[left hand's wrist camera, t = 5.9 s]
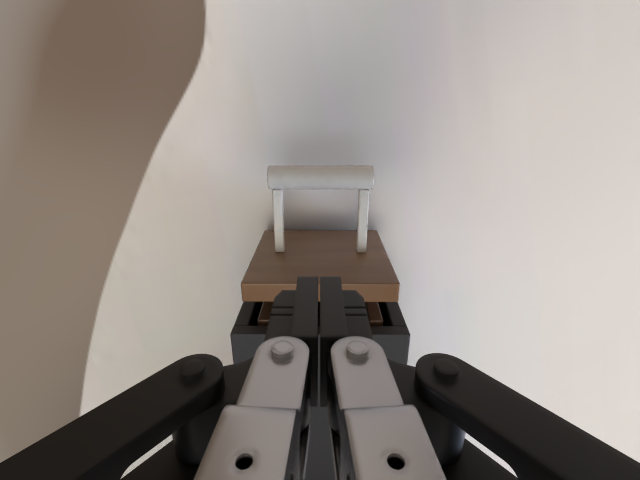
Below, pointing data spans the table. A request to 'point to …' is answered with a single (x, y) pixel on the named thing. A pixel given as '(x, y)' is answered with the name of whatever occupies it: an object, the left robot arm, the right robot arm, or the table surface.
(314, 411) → the cabinet
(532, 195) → the table surface
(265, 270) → the drawer
